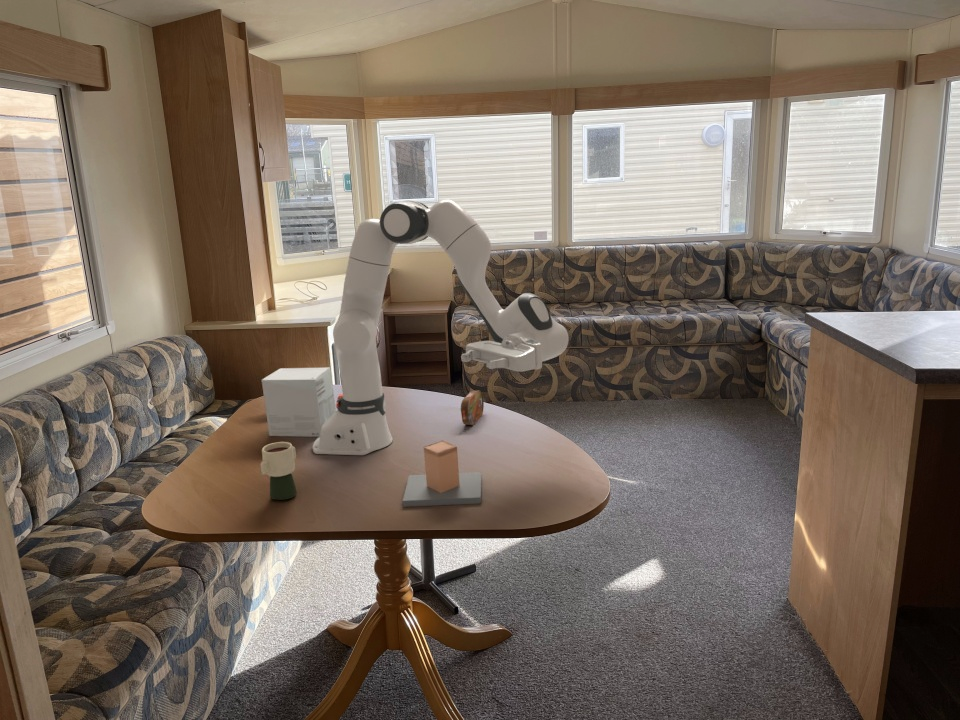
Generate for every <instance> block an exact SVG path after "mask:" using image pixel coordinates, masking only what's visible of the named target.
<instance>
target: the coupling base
mask: <svg viewBox="0 0 960 720" xmlns="http://www.w3.org/2000/svg"><path fill="white" fill-rule="evenodd" d="M459 484H460V486H457V487H455V488H452V489H450V490H447V491H445V492H442V493H440V492H438V491H436V490H434V489H432V488H430V487H428V486H427V482H426V473H425V474H409V475H408V478H407V482H406V486H405V491H404V494H403V497H402V507H404V508H405V507H406V508H407V507H424V506H425V507H426V506H449V505H471V504H473V505H474V504H475V505H476V504H482V471H473V472H471V471H469V472H459Z"/></svg>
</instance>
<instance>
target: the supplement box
mask: <svg viewBox="0 0 960 720" xmlns="http://www.w3.org/2000/svg"><path fill="white" fill-rule="evenodd" d="M331 369H332V368H331V367H329V366H328V367H288V368H287V367H285V368H284V367H282V368H278V369H277V370H275V371H274V372H272V373H271V374H269V375H267V376H265V377H264V378H262V379H261V385H262V391H263V393H262V394H263V399H264V407H265V414H266V420H267V421H266V422H267V429H268V435H269V437H306V438H307V437H311V438H313V437H314V438H315V437H317V438H319V437H320V431H321V427H322V425H323V423H324V422H325V421H326V420H327V419H328V418H329V417H331V416H332V415H333V414H334V413H335V412H336V411H337V410H336V409H337V408H336V401H335V393H334V385H333V378H332V377H333V375H332V370H331Z"/></svg>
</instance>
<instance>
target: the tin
mask: <svg viewBox="0 0 960 720" xmlns="http://www.w3.org/2000/svg"><path fill="white" fill-rule="evenodd" d="M460 404H461V405H460V414H461V421H462V423H463V424H464V426H474V425H475V424H476V423H477V422H478V421H479V420H480V418H481V417H482V415H483V413H484V397H483V393H482V391H481V390H471V391H469V392H468V394H467V395H466V396H465V397H464V398H463V399H462V401H461V403H460Z"/></svg>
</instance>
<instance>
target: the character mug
mask: <svg viewBox="0 0 960 720" xmlns="http://www.w3.org/2000/svg"><path fill="white" fill-rule="evenodd" d="M261 455H262V456H261V457H262V461H261V462H260V471H261V474H262V475H264V476H266V475H267V476H269V497H270V499H272V500H276V501H277V500H279V501H280V500H283V501H284V500H288V499H292V498H294V497H295V496H296V494H297V493H298V492H297V487H296V484H295V480H294V478H293V472H294V471H295V469H296V465H295V464H296V462H295V460H296V459H297V453H296V447H295V446H293V445H292V443H291V442H289V441H278V442H272V443H269V444H266V445H264V446H263V447H262V449H261Z"/></svg>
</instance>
